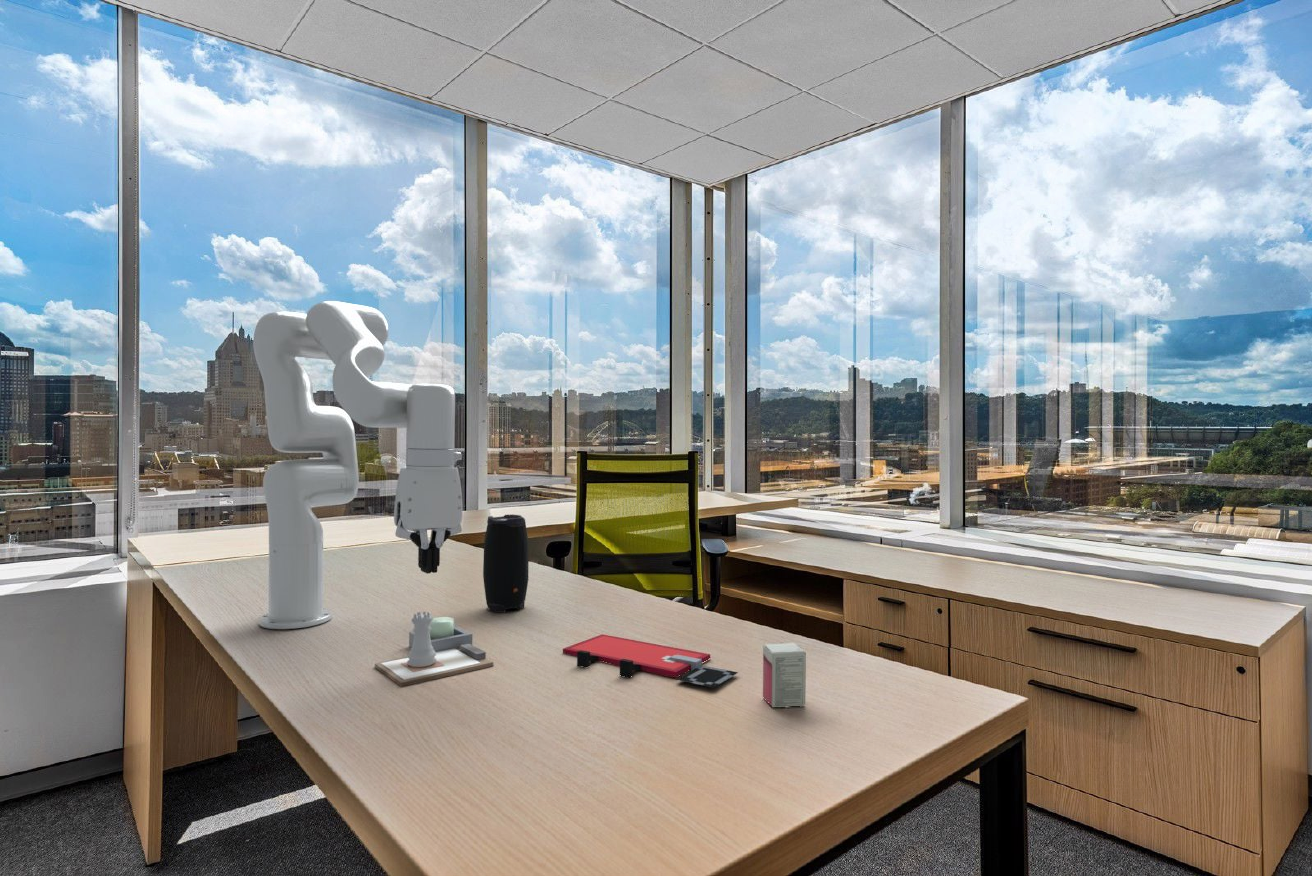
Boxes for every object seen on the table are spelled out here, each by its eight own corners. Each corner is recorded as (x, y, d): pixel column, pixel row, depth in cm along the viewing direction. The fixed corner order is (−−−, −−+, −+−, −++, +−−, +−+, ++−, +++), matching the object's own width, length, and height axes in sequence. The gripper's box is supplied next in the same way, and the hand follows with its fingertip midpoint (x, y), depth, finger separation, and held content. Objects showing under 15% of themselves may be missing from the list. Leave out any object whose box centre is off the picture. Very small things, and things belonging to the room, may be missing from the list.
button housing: (409, 646, 126) (409, 631, 126) (452, 637, 131) (452, 624, 131) (427, 657, 120) (427, 642, 120) (472, 648, 125) (472, 634, 125)
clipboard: (374, 667, 115) (375, 657, 114) (462, 649, 124) (462, 640, 124) (401, 686, 106) (401, 675, 106) (493, 665, 116) (493, 655, 116)
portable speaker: (529, 612, 150) (530, 518, 149) (483, 614, 147) (484, 519, 147) (526, 602, 158) (526, 513, 158) (482, 604, 156) (483, 514, 155)
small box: (794, 696, 104) (795, 641, 104) (806, 707, 100) (806, 651, 100) (761, 697, 104) (762, 643, 103) (771, 709, 99) (772, 652, 99)
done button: (423, 636, 126) (423, 619, 125) (447, 632, 128) (447, 615, 128) (433, 642, 122) (433, 625, 122) (458, 638, 125) (458, 620, 125)
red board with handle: (707, 697, 104) (751, 670, 116) (707, 678, 104) (751, 653, 116) (548, 662, 120) (602, 641, 132) (548, 645, 120) (602, 626, 132)
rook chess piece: (427, 669, 111) (427, 618, 111) (401, 667, 112) (401, 616, 112) (441, 660, 116) (442, 611, 116) (416, 658, 117) (416, 609, 117)
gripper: (463, 458, 125) (462, 563, 125) (376, 459, 116) (374, 573, 116) (483, 460, 119) (481, 570, 119) (392, 461, 110) (390, 581, 110)
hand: (428, 571), depth 118 cm, fingers closed
